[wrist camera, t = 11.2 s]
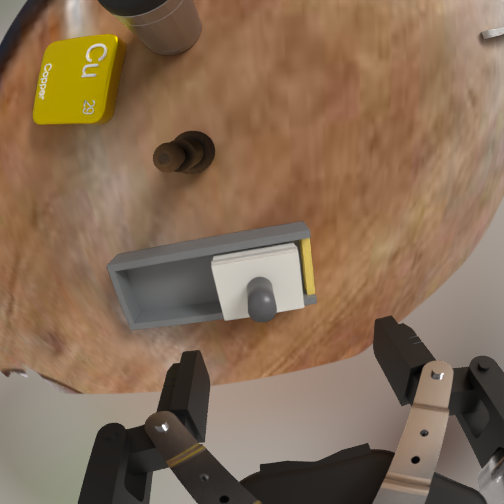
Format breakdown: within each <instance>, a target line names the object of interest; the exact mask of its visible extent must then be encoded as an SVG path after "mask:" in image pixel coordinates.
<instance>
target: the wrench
mask: <svg viewBox="0 0 504 504" xmlns="http://www.w3.org/2000/svg"><path fill="white" fill-rule="evenodd" d="M481 33H482V35H483V37H484V39H487V38H491V37H495V36H499V35H503V34H504V27H501V28H496V29H492V30H488V31H484V32H481Z"/></svg>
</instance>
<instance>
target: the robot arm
mask: <svg viewBox="0 0 504 504" xmlns="http://www.w3.org/2000/svg"><path fill="white" fill-rule="evenodd" d="M98 1H99V3H100V4H101V5H102V6H103V7H104V8H105V9H106V10H108V11H109V12H110V13H111V14H112V15H114V16H115V17H116V18H117V19H118V20H119V21H120V22H122V23H123V24H124V25H125V26H126V27H127V28H128V29H129V30H130V31H131V32H132V33H134V34H135V35H136V36H137V37H138V38H139V39H140V40H141V41H142V42H143V43H144V44H145V45H146V46H147V47H148V48H149V49H151V50H152V51H153V52H155V53H157V54H160V55H176V54H179V53H182V52H184V51H186V50H187V49H189V48H190V47H191V46H193V44H194V43H195V42H196V41H197V39H198V38H199V36H200V33H201V21H200V18H199V15H198V12H197V9H196V7H195V4H194V1H193V0H98ZM373 349H374V354H375V357H376V359H377V361H378V363H379V364H380V366H381V368H382V370H383V372H384V374H385V375H386V377H387V379H388V381H389V383H390V385H391V387H392V389H393V390H394V392H395V394H396V396H397V398H398V400H399V402H400V404H401V406H404V405H406V404H409V403H410V405H411V407H412V408H411V411H410V414H409V418H408V421H407V423H406V426H405V429H404V432H403V435H402V438H401V440H400V443H399V445H398V448H397V451H396V453H394V452H391V451H387V450H380V449H373V450H372V449H371V450H370V447H369V445H368V443H366V444H363V445H359V446H356V447H352V448H348V449H344V450H341V451H339V452H337V453H335V454H333V455H330V456H328V457H326V458H324V459H321V460H319V461H316V462H303V461H282V462H276V463H268V464H260V471H259V472H256V473H254V474H252V475H249V476H248V477H246V478H244V479H243V480H241V481H240V482H238V481H237V480H236V479H235V478H234V477H233V476H232V475H231V474H230V473H229V472H228V471H227V470H226V469H225V468H224V467H223V466H222V465H221V464H220V463H219V462H218V461H217V460H216V458H215V457H214V456H213V455H212V454H211V453H210V452H209V451H208V450H207V449H206V448H205V447H204V446H203V445H202V444H201V445H200V444H199V443H200V442H205V434H206V423H207V413H208V402H209V392H210V379H209V374H208V372H207V369H206V366H205V363H204V360H203V357H202V354H201V352H200V351H199V350H196V351H186V352H183V353H182V357H181V361H180V363H174V364H173V365H172V366H171V367H170V369H169V370H168V371H167V374H166V378H165V382H164V386H163V387H164V388H163V389H162V393H161V397H160V401H159V405H158V408H157V412H156V413H154V414H152V415H151V416H150V417H148V419H147V420H146V422H145V424H144V425H142V426H139V427H135V428H130V429H125V428H124V426H123V425H121V424H119V423H109V424H107V425H105V426H103V427H102V428H101V429H100V430H99V431H98V433H97V436H96V439H95V442H94V446H93V449H92V453H91V456H90V459H89V463H88V466H87V470H86V474H85V477H84V481H83V485H82V488H81V492H80V496H79V500H78V504H149V501H150V500H149V499H150V492H151V483H152V475H153V471H156V470H160V469H165V468H168V467H170V469H171V470H172V471H173V473H174V474H175V475H176V477H177V478H178V480H179V481H180V482H181V483H182V485H183V486H184V487H185V489H186V490H187V491H188V492H189V494H190V495H191V496H192V497H193V499H194V500H195V501H196V502H197V503H198V504H504V372H503V371H502V370H501V368H500V367H499V366H498V364H497V363H496V362H495V361H494V360H493V359H492V358H490V357H487V356H478V357H475V358H474V359H473V360H472V361H471V362H470V365H469V367H462V368H452V367H451V366H450V365H449V364H447V363H446V362H443V361H436V359H435V358H434V357H433V355H432V354H431V353H430V351H429V350H428V349H427V348H426V346H425V345H424V344H423V342H421V340H420V338H419V337H418V336H417V335H416V333H415V332H414V331H413V329H412V328H410V327H409V326H407V325H405V324H403V323H402V324H398V323H397V322H396V320H395V319H394V318H393V317H392V316H387V317H383V318H379V319H376V320H375V326H374V341H373ZM449 415H456V417H457V419H458V421H459V423H460V425H461V427H462V429H463V431H464V433H465V434H466V437H467V438H468V440H469V443H470V445H471V446H472V449H473V451H474V453H475V455H476V457H477V459H478V461H479V463H480V465H481V468H482V470H481V471H480V474H479V476H478V483H479V492H478V491H477V490H475V489H473V488H471V487H468V486H466V485H463V484H461V483H458V482H456V481H454V480H452V479H449V478H447V477H445V476H443V475H440V474H438V473H436V472H434V470H435V467H436V464H437V460H438V457H439V453H440V449H441V446H442V442H443V438H444V434H445V430H446V425H447V421H448V416H449Z"/></svg>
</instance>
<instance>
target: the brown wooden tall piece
mask: <svg viewBox="0 0 504 504" xmlns="http://www.w3.org/2000/svg"><path fill="white" fill-rule="evenodd" d="M214 155H215V147H214V144H213V142H212V140H211V139H210V138H209V137H208V136H207V135H206V134H204V133H202V132H198V131H187V132H184V133H182V134H180V135H179V136H178V137H176V138H175V140H173V141H171V142H170V143H164V144H161V145H160V146H159V147H157V149H156V150H155V152H154V155H153V162H154V165H155V166H156V167H157V169H159V170H160V171H162V172H173V171H175V172H183V173H186V174H196V173H199V172H201V171H203V170H205V169H206V168H207V167H208V166H209V165H210V164H211V163H212V161H213V159H214Z"/></svg>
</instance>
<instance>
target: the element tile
mask: <svg viewBox="0 0 504 504" xmlns="http://www.w3.org/2000/svg"><path fill="white" fill-rule="evenodd" d="M125 53H126V44H125V43H124V42H123V41H122V40H121V39H120V38H118V37H117V36H116V35H113V34H102V35H93V36H86V37H78V38H72V39H66V40H60V41H55V42H53V43H51V44H50V45H49V46H48V47H47V48H46V50H45V52H44V55H43V60H42V64H41V68H40V73H39V78H38V83H37V88H36V94H35V100H34V107H33V120H34V122H35V123H37V124H39V125H58V124H104V123H107V122H108V121H109V120H111V118H112V116H113V114H114V110H115V103H116V97H117V92H118V86H119V81H120V76H121V71H122V66H123V62H124V57H125Z"/></svg>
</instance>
